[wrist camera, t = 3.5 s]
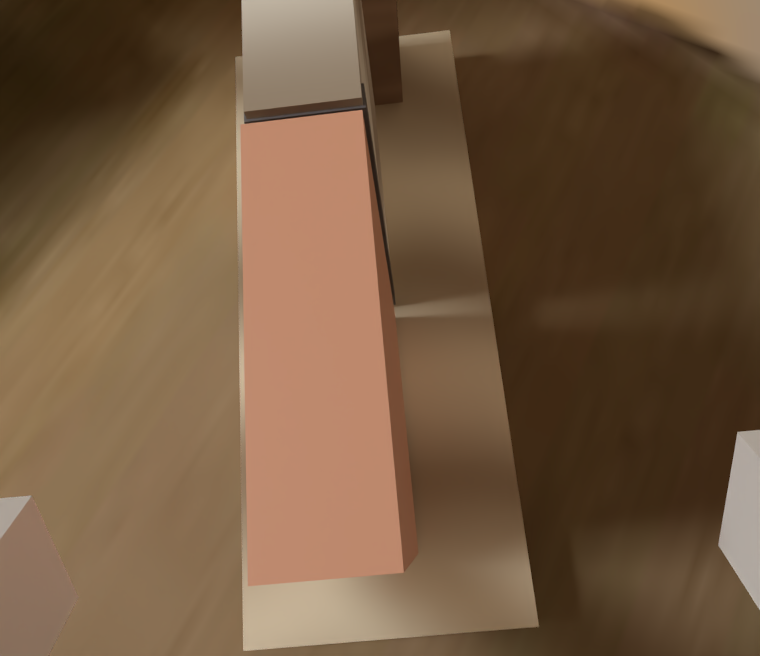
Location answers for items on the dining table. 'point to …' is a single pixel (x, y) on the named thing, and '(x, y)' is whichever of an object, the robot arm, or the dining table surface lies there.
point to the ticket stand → (401, 327)
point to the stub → (320, 359)
